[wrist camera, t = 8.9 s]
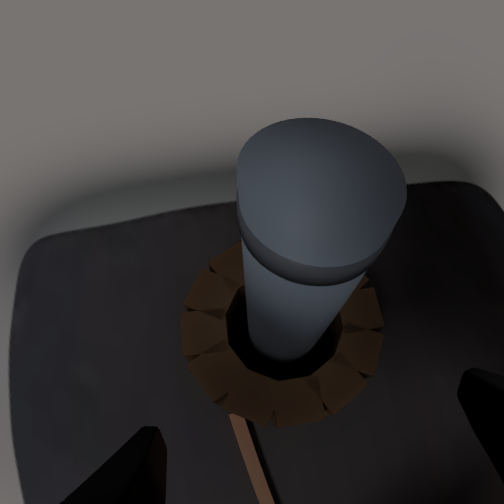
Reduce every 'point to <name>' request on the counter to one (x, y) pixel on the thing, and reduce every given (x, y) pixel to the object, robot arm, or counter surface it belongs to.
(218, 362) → the brown segmented ring
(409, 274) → the counter surface
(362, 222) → the dark grey capped cylinder
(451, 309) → the counter surface
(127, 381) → the counter surface
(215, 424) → the counter surface
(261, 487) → the lace
